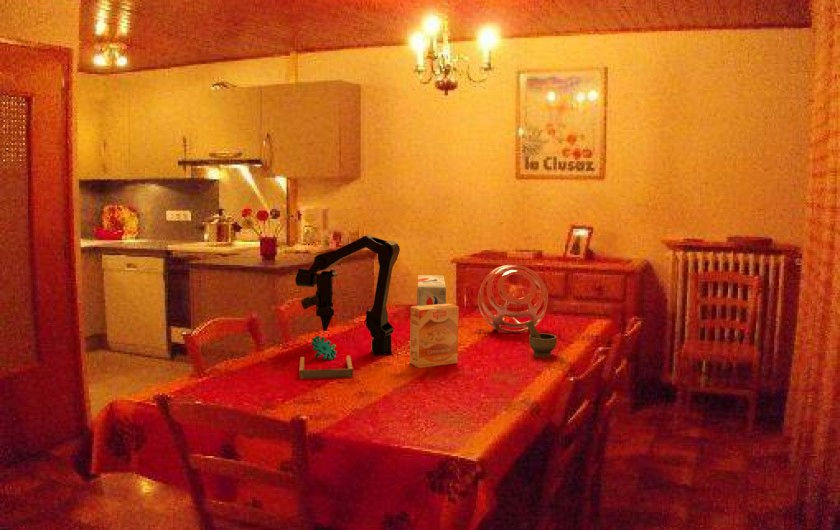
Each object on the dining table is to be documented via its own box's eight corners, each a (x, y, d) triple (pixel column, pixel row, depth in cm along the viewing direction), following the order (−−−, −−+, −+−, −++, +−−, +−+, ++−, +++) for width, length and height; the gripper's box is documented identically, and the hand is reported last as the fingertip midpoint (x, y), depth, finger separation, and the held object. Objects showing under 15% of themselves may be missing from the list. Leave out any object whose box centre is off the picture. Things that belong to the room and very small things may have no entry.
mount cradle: (350, 363, 249) (350, 355, 249) (352, 377, 232) (352, 369, 232) (300, 364, 247) (300, 357, 247) (299, 378, 230) (299, 371, 230)
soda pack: (446, 318, 326) (446, 286, 324) (416, 317, 326) (416, 286, 324) (443, 301, 366) (444, 273, 364) (417, 301, 366) (417, 273, 364)
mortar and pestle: (559, 354, 264) (560, 320, 263) (552, 360, 256) (553, 325, 254) (528, 350, 269) (529, 317, 267) (520, 356, 260) (521, 322, 259)
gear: (322, 359, 248) (308, 335, 252) (312, 369, 250) (298, 345, 254) (344, 357, 257) (330, 333, 261) (334, 367, 259) (321, 343, 263)
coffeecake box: (418, 368, 244) (419, 309, 241) (409, 363, 250) (409, 306, 247) (458, 363, 250) (459, 306, 248) (448, 358, 257) (448, 302, 254)
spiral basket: (484, 274, 321) (491, 244, 296) (547, 292, 318) (560, 263, 293) (467, 332, 308) (473, 306, 284) (533, 351, 306) (545, 327, 281)
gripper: (302, 284, 276) (302, 325, 278) (301, 292, 258) (301, 337, 260) (332, 284, 277) (333, 325, 279) (333, 292, 259) (334, 336, 261)
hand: (324, 330), depth 270 cm, fingers closed
